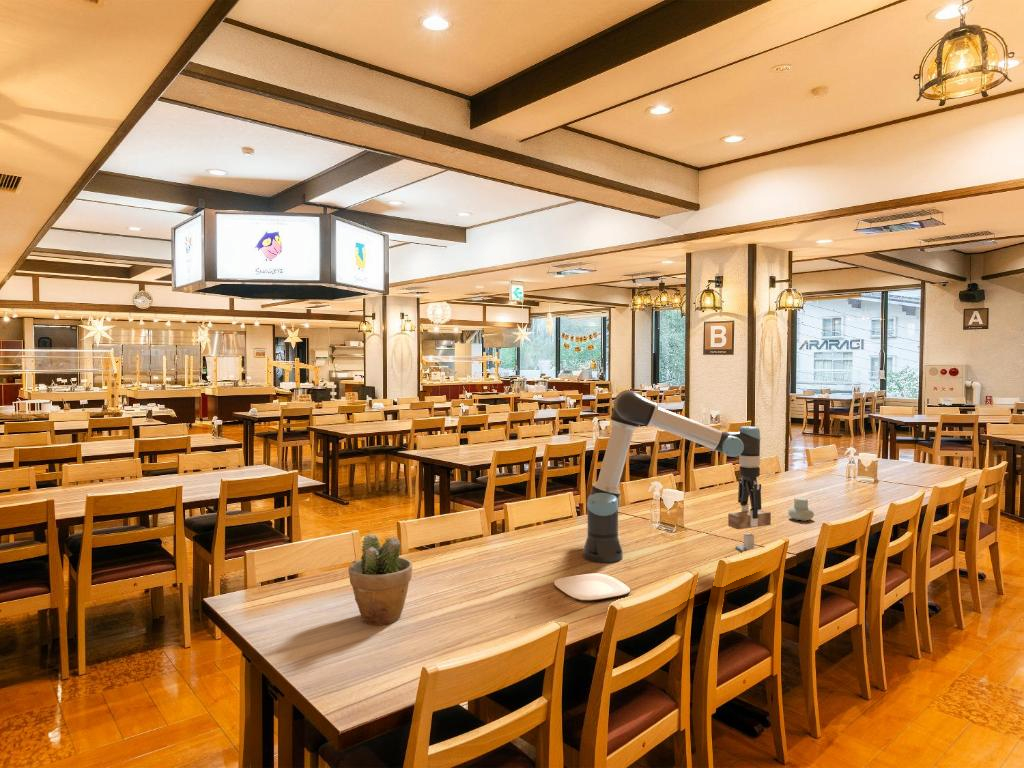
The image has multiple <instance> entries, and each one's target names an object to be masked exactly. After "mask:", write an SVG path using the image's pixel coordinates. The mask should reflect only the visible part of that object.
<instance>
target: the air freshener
mask: <svg viewBox="0 0 1024 768" xmlns="http://www.w3.org/2000/svg"><path fill="white" fill-rule="evenodd" d="M793 500H794V501H793V502H794V504H793V506H791V508H789V509H788V516H789V517H790V518H791V519H793V520H796V521H798V520H801V521H800V522H808V521H810V520H812V519H813V518H814V511H813V510H812V509H811V508H809V500H808V498H805V497H794V499H793ZM807 520H808V521H807Z"/></svg>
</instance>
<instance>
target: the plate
mask: <svg viewBox="0 0 1024 768" xmlns="http://www.w3.org/2000/svg"><path fill="white" fill-rule="evenodd" d="M554 586H555V587H556V588H557V589H559V590H560V591H561V592H563V594H565V595H567V596H568V597H570V598H572V599H574V600H579V601H585V602H586V601H587V602H591V601H593V602H594V601H600V600H606V599H613V598H617V597H618V598H619V597H621V596H625V595H628V594H629V593H630V592H631V589H630V587H629V586H627V585H626V584H625V583H623V582H621V581H620V580H618V579H617V578H614V577H612V576H611V575H608V574H604V573H584V574H582V573H581V574H577V575H576V574H575V575H572V576H565V577H561V578H558V579H556V580H554Z"/></svg>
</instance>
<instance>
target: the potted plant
mask: <svg viewBox="0 0 1024 768" xmlns="http://www.w3.org/2000/svg"><path fill="white" fill-rule="evenodd" d="M361 543H362V546H361V551H362V554H361V557H360V560H356V561H354V562H353V563H351V564H350V565H349V567H348V575H349V576H348V577H349V583H350V585H351V586H352V591H353V595H354V600H355V602H356V605H357V608H358V611H359V613H360V617H361V618H360V619H361V621H362V622H363V623H364V624H366V625H370V626H385V625H390V624H393V623H395V622H397V621H398V620H400V618H401V616H402V613H403V610H404V607H405V603H406V599H407V594H408V591H409V584H410V581H411V580H412V573H413V562H412V561H411V560H409V559H408V558H407V559H406V558H404V557H400V553H399V552H400V551H401V547H402V545H401V542H400V539H399V538H397V537H388V538H386V539H385V542H384V543H383V544H382V545H380V544H381V543H380V541H379V538H378V536H377V535H376V534H367V535H365V536H364V538H363V540H362V541H361Z"/></svg>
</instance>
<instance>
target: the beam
mask: <svg viewBox="0 0 1024 768" xmlns="http://www.w3.org/2000/svg"><path fill="white" fill-rule="evenodd" d="M771 513H772V512H770V511H767V510H764V509H761V510H758V527H757V528H760V527H765V526H771V524H772V523H771V519H772V515H771ZM727 517H728V518H727V519H728V521H727V522H728V524H727V525H728V527H729V528H732V529H734V530H735V529H736V530H745V529H751V528H753V527H750V510H749V511H744V512H741V511H739V512H736V511H735V512H730V513H727Z"/></svg>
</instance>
